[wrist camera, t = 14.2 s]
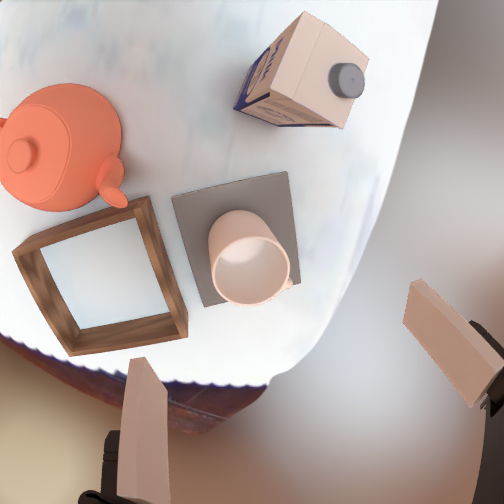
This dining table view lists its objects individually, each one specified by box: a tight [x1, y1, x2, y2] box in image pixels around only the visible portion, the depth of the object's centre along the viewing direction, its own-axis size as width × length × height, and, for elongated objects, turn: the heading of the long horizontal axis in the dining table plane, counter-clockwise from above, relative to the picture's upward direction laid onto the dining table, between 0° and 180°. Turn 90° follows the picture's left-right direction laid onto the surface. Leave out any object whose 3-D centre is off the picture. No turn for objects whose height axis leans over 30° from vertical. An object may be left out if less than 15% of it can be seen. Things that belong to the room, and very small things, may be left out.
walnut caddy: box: [12, 196, 188, 357], centre depth 37 cm, size 20×22×6 cm
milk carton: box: [233, 11, 369, 129], centre depth 24 cm, size 7×7×20 cm
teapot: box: [0, 84, 128, 212], centre depth 25 cm, size 25×17×13 cm
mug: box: [208, 210, 293, 306], centre depth 36 cm, size 9×12×11 cm
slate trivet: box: [171, 172, 301, 307], centre depth 41 cm, size 18×16×1 cm
